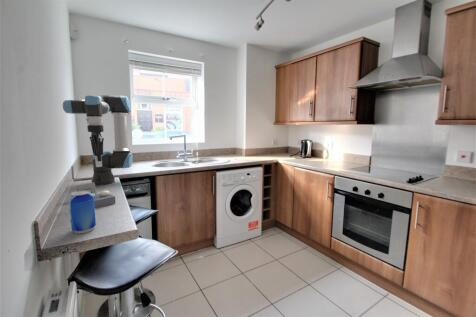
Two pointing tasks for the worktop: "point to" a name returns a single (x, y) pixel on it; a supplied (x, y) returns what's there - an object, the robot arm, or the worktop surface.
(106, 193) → the knob cream
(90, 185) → the electrical switch
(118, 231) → the worktop surface
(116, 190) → the worktop surface
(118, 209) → the worktop surface
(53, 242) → the worktop surface
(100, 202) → the mount block
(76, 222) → the beer can
